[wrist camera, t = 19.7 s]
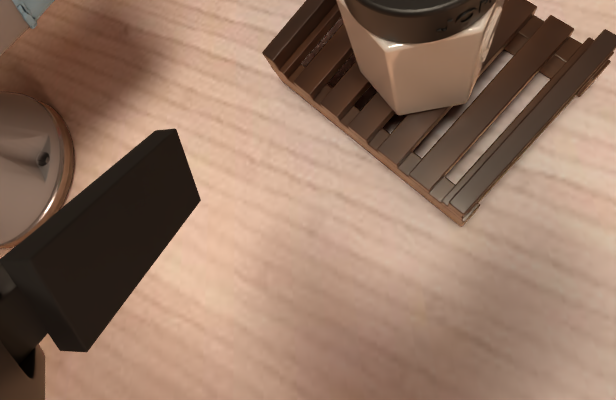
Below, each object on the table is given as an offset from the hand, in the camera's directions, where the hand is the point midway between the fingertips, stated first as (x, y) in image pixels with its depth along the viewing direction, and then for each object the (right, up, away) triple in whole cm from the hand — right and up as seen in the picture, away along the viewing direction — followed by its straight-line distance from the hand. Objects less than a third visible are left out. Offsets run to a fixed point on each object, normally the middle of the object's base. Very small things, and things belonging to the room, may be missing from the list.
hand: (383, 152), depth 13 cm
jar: (+6, +8, +18) cm, 20 cm away
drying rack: (+7, +8, +21) cm, 24 cm away
